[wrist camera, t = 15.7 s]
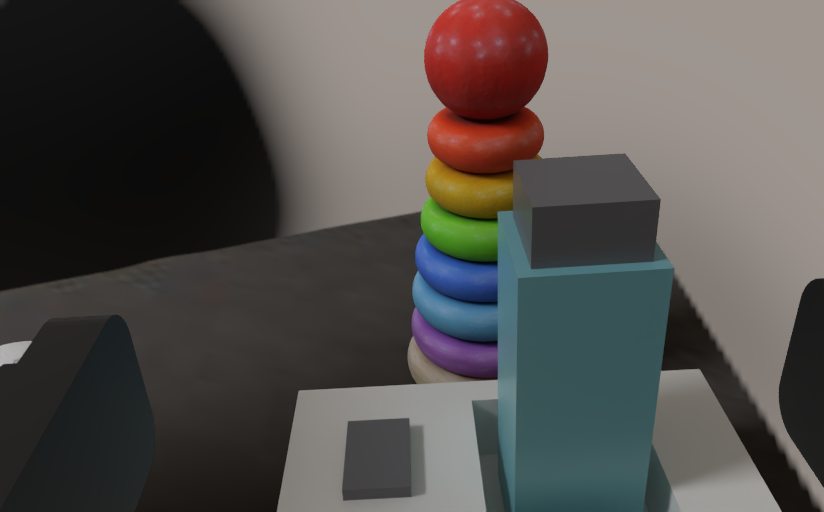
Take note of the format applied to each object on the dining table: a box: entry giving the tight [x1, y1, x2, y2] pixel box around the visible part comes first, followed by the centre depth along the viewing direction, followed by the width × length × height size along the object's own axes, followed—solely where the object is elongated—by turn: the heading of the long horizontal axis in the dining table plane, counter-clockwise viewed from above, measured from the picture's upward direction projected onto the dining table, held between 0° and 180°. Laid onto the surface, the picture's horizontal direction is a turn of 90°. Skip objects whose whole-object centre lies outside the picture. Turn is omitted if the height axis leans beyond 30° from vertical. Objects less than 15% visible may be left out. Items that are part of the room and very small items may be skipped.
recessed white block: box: [277, 369, 782, 512], centre depth 29 cm, size 17×9×4 cm, turn 91°
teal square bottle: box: [498, 154, 674, 512], centre depth 26 cm, size 4×4×14 cm
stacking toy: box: [408, 0, 548, 384], centre depth 35 cm, size 8×8×19 cm
